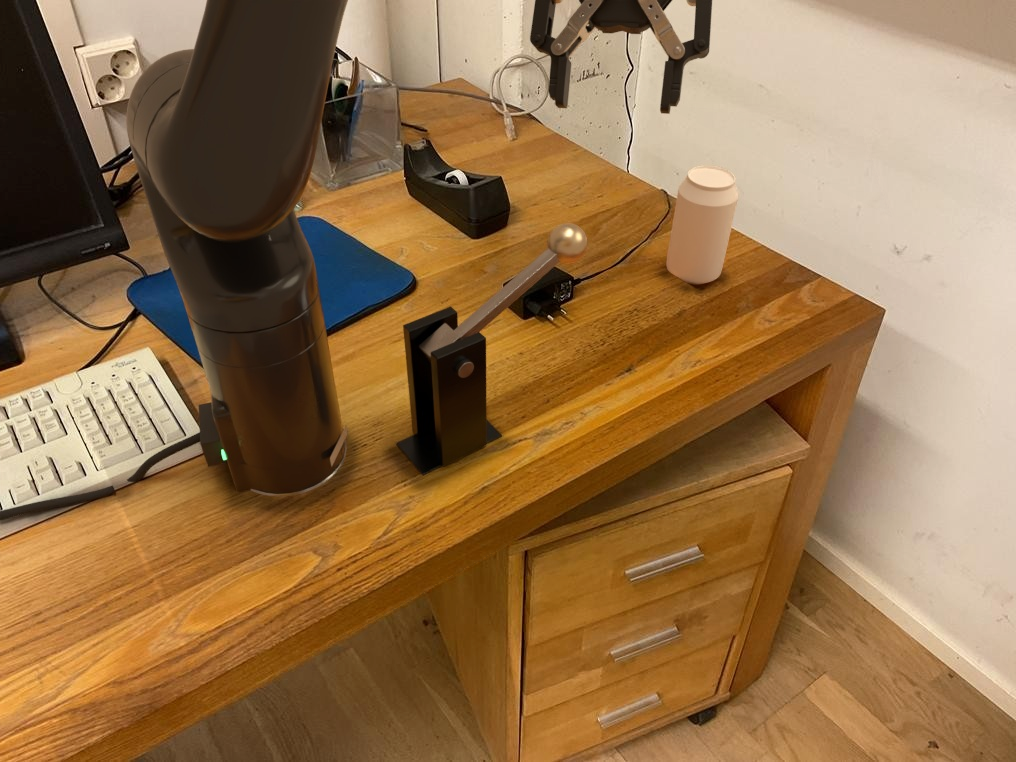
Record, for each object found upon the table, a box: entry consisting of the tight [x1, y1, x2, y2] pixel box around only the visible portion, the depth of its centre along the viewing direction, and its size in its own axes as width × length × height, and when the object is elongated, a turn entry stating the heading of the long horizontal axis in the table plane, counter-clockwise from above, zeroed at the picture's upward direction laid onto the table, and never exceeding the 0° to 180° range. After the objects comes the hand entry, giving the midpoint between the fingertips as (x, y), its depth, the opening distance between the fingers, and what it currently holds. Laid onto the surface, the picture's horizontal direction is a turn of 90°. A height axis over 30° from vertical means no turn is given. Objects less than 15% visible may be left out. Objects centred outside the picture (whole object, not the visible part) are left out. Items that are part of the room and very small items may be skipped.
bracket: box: [395, 306, 503, 477], centre depth 66 cm, size 8×6×13 cm
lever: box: [419, 222, 588, 362], centre depth 64 cm, size 16×3×3 cm, turn 126°
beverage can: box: [665, 165, 740, 285], centre depth 87 cm, size 6×6×12 cm
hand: (612, 109), depth 66 cm, fingers open, 8 cm apart
